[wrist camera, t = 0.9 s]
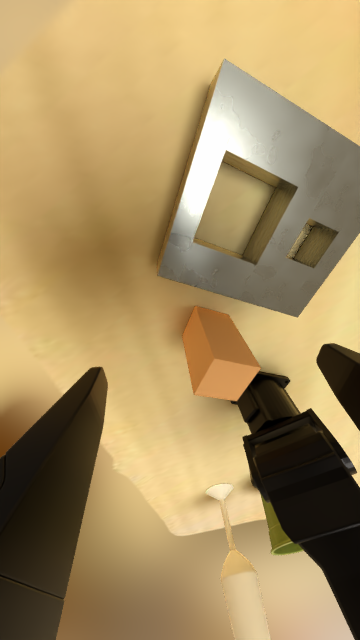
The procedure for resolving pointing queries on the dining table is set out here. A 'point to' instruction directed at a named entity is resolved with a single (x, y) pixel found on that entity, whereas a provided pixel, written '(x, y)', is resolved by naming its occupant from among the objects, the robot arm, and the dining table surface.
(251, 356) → the peg
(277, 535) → the plant pot
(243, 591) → the champagne flute
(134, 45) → the dining table surface
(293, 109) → the socket plate
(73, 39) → the dining table surface
